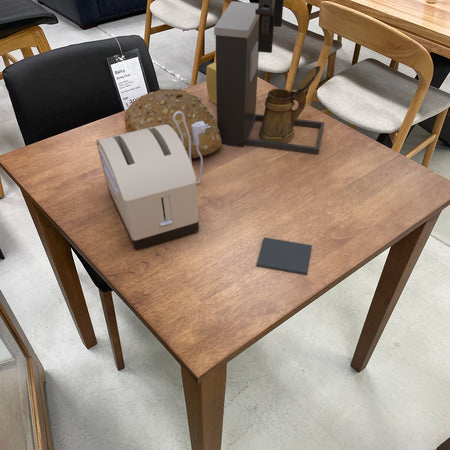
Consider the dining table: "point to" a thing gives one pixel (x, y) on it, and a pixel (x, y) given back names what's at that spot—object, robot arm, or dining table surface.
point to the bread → (163, 114)
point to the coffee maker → (243, 80)
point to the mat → (284, 256)
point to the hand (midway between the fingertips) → (270, 38)
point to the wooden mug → (284, 110)
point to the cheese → (211, 82)
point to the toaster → (153, 181)
